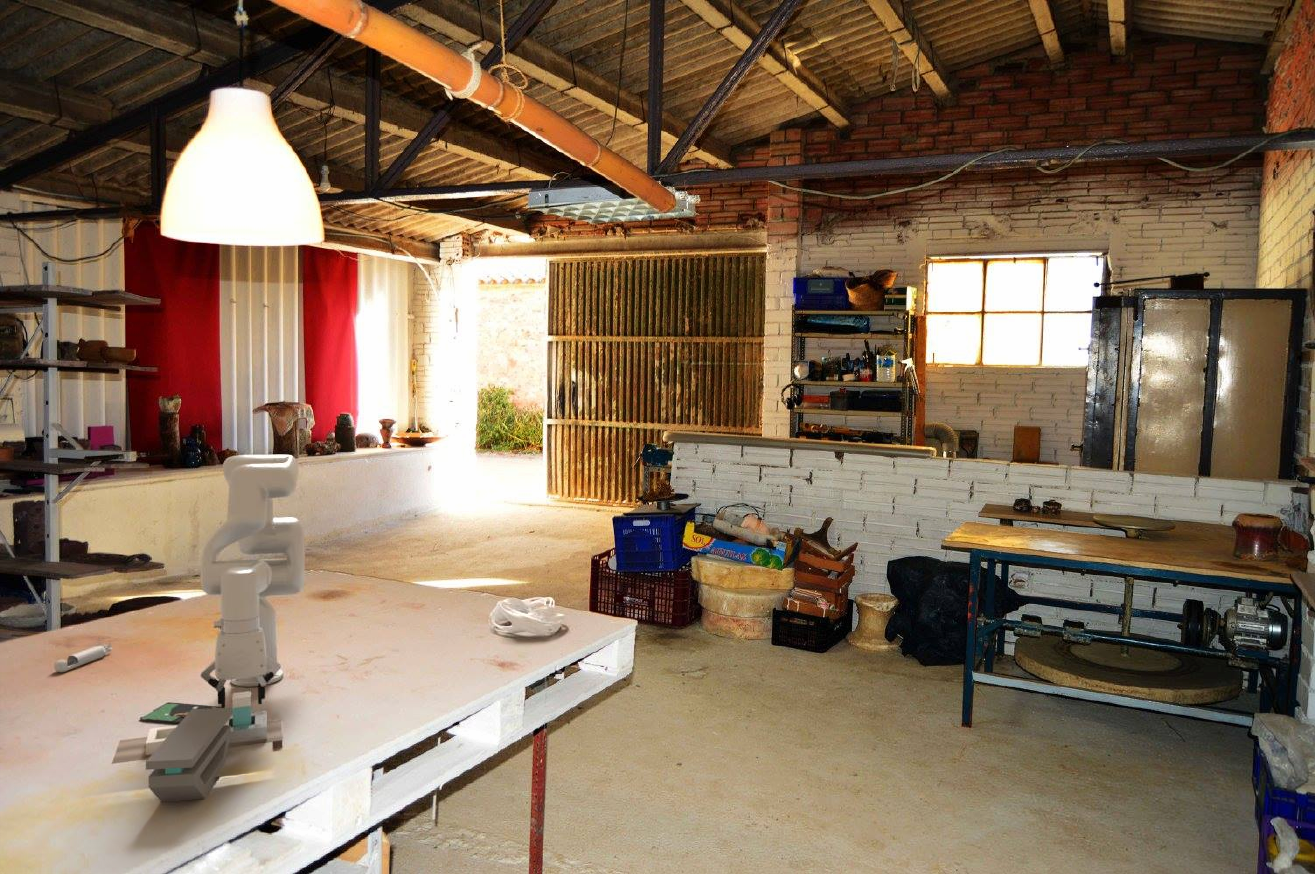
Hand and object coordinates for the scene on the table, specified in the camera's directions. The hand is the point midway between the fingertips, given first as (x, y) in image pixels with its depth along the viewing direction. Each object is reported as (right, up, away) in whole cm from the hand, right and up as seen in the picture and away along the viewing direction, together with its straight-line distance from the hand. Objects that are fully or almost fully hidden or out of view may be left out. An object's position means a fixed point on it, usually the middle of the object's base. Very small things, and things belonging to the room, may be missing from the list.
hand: (241, 703), depth 198 cm
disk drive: (-19, -8, +11) cm, 23 cm away
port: (0, -7, +1) cm, 7 cm away
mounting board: (-8, -9, -3) cm, 12 cm away
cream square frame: (-13, -7, -5) cm, 16 cm away
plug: (0, -7, +1) cm, 7 cm away
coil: (+50, -3, +91) cm, 104 cm away
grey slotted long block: (0, -10, -20) cm, 23 cm away
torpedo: (-65, -4, +49) cm, 82 cm away
